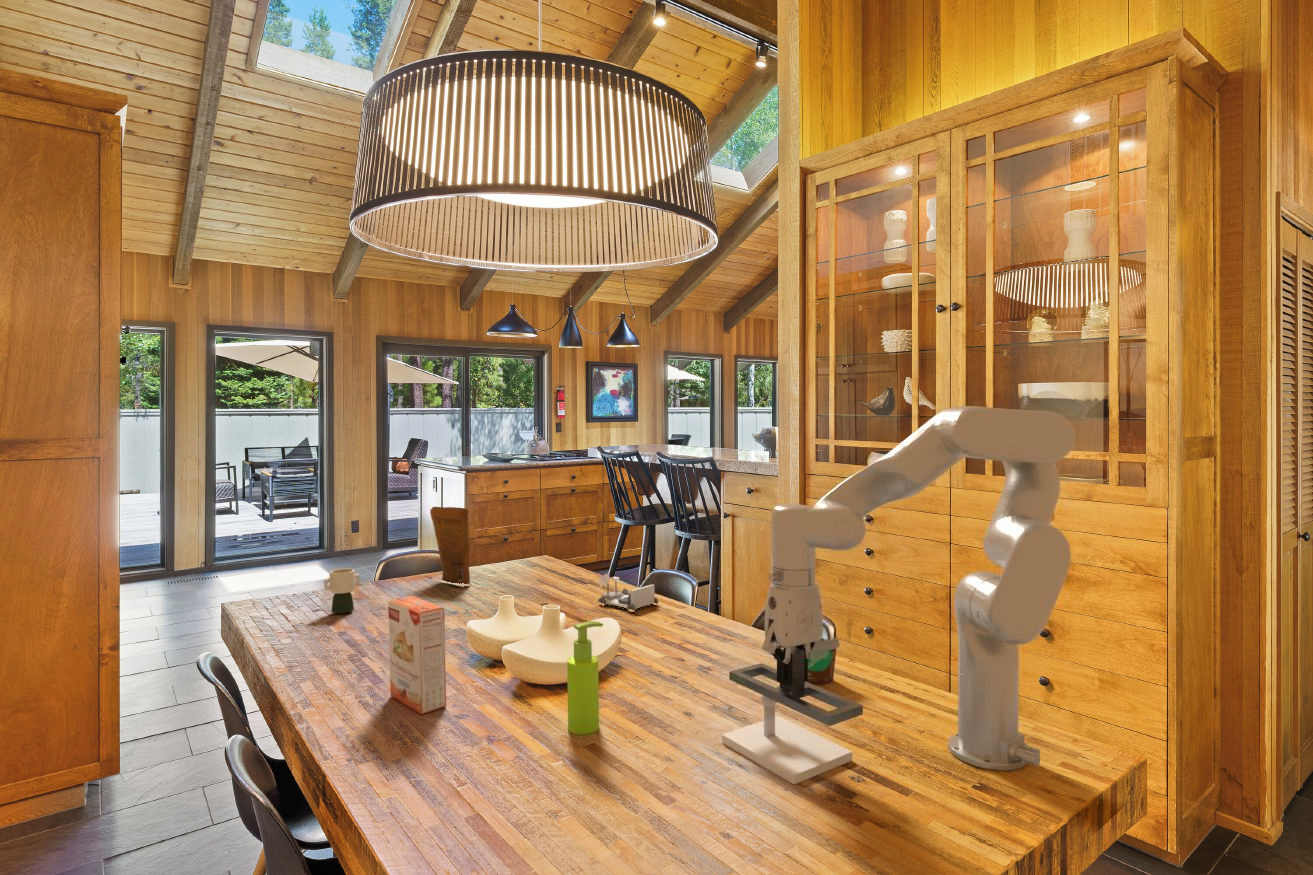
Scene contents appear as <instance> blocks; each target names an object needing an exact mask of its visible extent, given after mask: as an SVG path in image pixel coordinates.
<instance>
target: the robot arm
mask: <svg viewBox="0 0 1313 875" xmlns="http://www.w3.org/2000/svg"><path fill="white" fill-rule="evenodd" d="M1075 440H1076V435H1075V430H1074V427H1073V425H1072V424H1071V423H1070V421H1069V420H1068V419H1067V418H1065V417H1064V416H1063V415H1061V414H1060V413H1056V412H1054V411H1048V410H1047V411H1046V410H1030V409H1029V410H1028V409H1015V408H1013V409H1009V408H1001V407H1000V408H998V407H988V406H974V405H970V406H968V405H967V406H965V405H964V406H951V407H947V408H945V409H943V410H941V411H940V412H938V413H936V414H935V415H934V416H933V417H931V418H930V419H928V420H927V421H926V422H925V423H924V424H923V425H921V426H920V427H918V428H917V430H915V431H914V432H913V433H911V434H910V435H909V436H908V437H906V438H905V439H904V440H902V441H901V442H899V444H897V445H896V446H895V447H894V448H893V449H891V450H889V452H887V453H886V454H885V455H883V456H882V457H880V458H879V459H876V460H875V461H873V462H872V463H870V464H868V465H867V466H866V467H863V468H862V469H860V470H859V471H857V472H856V473H854V474H852V475H851V476H849V477H847V478H846V479H845V480H844V481H842V482H841V483H840V484H838V485H837V486H835V487H834V488H832V490H831V491H829V492H828V493H827V494H826V495H824V496H823V497H822V498H820V499H819V501H817V502H816V503H815V504H814V506H813V507H812V506H809V505H807V504H806V505H805V504H797V503H796V504H795V503H791V504H790V503H787V504H786V503H785V504H779V505H776V506H775V507H773V508H772V511H771V518H770V519H771V535H770V537H771V540H770V544H771V546H770V549H771V550H770V573H769V574H768V580H769V581H770V584H769V586H768V590H767V595H766V603H765V615H764V636H765V638H764V641H763V643H762V646H761V649H762V650H763V651H766V652H768V653H770V654H771V656H773V659H774V660H776V669H777V683H779V684H780V683H781V684H783V685H786V686H788V687H790V686H792V672H793V665H792V663H790V653H791V647H795V648H798V649H801V650H803V651H805V662H804V680H805V682H807V681H808V659H807V658H810V656H811V650H812V648H813V647H814V645H815V643H816V642H817V641H818V640H819V639H820V638H823V632H824V631H823V630H824V627H823V626H824V625H823V624H824V623H823V622H824V621H823V605H822V598H821V597H822V595H821V591H820V587H819V584H818V583H817V582H816V548H818V549H825V550H832V551H839V552H840V551H849V550H852V549H854V548H856V547H857V546H859V545H860V544H861V543H862V541H863V540H864V538H865V536H866V531H867V528H866V522H865V521H864V519H863V518H864V517H865V516H867V515H868V514H870V513H871V512H873V511H875V510H876V509H877V508H880V507H882V506H883V505H886V504H889V503H892V502H896V501H901V500H905V499H907V498H911V497H914V496H915V495H918V494H920V493H921V492H922V491H924V490H925V489H926V488H927V487H929V486H930V485H931V484H933V483H934V482H935V481H936V480H938V479H939V478H940V477H941V476H943V475H944V474H945V473H947V471H949V470H951V468H953V467H954V466H955V465H956V464H957V463H959V462H960V461H962V459H964V458H971V459H977V460H978V459H979V460H986V461H987V460H990V461H999V462H1002V465H1003V467H1004V473H1005V477H1004V478H1005V479H1004V485H1003V489H1002V491H1001V495H1000V497H999V500H998V502H997V505H996V508H995V509H994V513H993V514H992V518H991V520H990V522H989V525H988V528H987V530H986V533H985V534H984V538H983V542H982V548H983V552H984V555H985V556H986V557H987V558H988V560H989V561H990V562H991V563H993V564H995V566H998V567H1000V568H1002V572H1001V574H997V573H994V572H992V571H991V572H990V571H984V570H979V571H973V572H970V573H968V574H966V575H965V576H964V577H962V579H961V580H959V582H958V584H957V585H956V588H955V591H954V596H953V597H954V598H953V608H954V616H955V622H956V629H957V639H958V641H957V642H958V643H957V644H958V664H957V665H958V666H957V667H958V669H957V670H958V671H957V672H958V674H957V675H958V676H957V677H958V682H957V683H958V687H957V688H958V690H957V693H958V694H957V696H958V697H957V698H958V700H957V701H958V702H957V703H958V706H957V707H958V708H957V709H958V710H957V712H958V713H957V718H958V719H957V733H955V734H953V735H951V737H949V739H948V746H947V747H948V749H949V752H950V753H952V755H954V757H956V758H957V759H959V760H961V761H962V762H965V763H967V764H969V765H972V766H976V767H978V768H982V769H986V770H992V771H993V770H994V771H1014V770H1015V771H1016V770H1019V769H1021V768H1024V767H1025V766H1027V764H1029V765H1032V766H1034V767H1038V766H1039V765H1040V762H1041V750H1040V749H1039V748H1037V747H1034V746H1030V745H1028V744H1027V743H1026V742H1025V741H1026V740H1025V733H1022V732H1019V701H1020V700H1019V693H1020V692H1019V690H1020V687H1019V686H1020V685H1019V684H1020V682H1019V681H1020V680H1019V679H1020V676H1019V675H1020V674H1019V672H1020V655H1019V654H1020V653H1019V646H1022V645H1025V644H1029V643H1031V642H1033V641H1034V640H1035V639H1036V638H1038V637H1039V635H1041V633H1042V632H1043V630H1044V629H1045V628H1046V625H1047V623H1048V622H1049V619H1050V618H1051V615H1052V612H1053V610H1054V608H1055V606H1056V603H1057V601H1058V597H1059V595H1060V593H1061V590H1062V588H1063V586H1064V583H1065V581H1066V578H1067V575H1068V572H1069V569H1070V566H1071V561H1072V560H1071V559H1072V556H1071V555H1072V553H1071V546H1070V543H1069V541H1068V539H1067V538H1066V535H1065V534H1064V533H1063V532H1062V531H1061V530H1060V529H1058V528H1057V527H1056V526H1054V525H1052V524H1051V523H1052V519H1053V516H1054V513H1055V510H1056V508H1057V504H1058V500H1059V496H1060V490H1061V480H1060V479H1061V478H1060V474H1059V470H1058V467H1057V465H1056V462H1059V461H1061V460H1063V459H1065V457H1067V456H1068V455H1069V454H1070V453H1071V451H1072V449H1073V447H1074V446H1075ZM781 649H784V651H783V652H782V651H781Z"/></svg>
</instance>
